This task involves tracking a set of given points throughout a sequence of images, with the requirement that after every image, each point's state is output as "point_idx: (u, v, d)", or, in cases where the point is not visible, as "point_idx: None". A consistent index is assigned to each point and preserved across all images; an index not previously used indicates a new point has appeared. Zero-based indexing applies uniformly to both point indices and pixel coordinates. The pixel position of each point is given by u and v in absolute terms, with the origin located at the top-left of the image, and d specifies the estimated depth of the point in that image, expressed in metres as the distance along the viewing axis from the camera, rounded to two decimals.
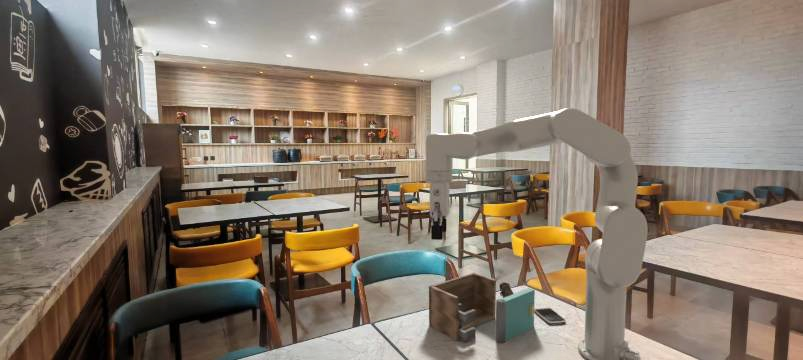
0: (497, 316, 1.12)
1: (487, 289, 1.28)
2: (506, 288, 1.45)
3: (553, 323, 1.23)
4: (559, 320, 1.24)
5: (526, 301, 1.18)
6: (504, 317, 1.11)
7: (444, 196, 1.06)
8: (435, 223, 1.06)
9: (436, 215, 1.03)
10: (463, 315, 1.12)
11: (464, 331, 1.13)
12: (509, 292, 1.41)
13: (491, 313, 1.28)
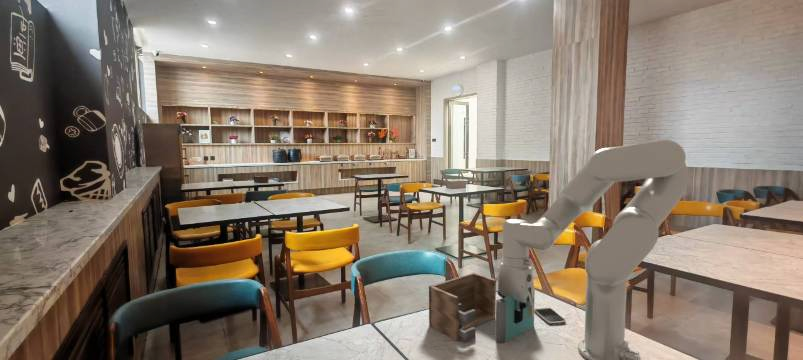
0: (497, 316, 1.12)
1: (487, 289, 1.28)
2: None
3: (553, 323, 1.23)
4: (559, 320, 1.24)
5: (526, 301, 1.18)
6: (504, 317, 1.11)
7: None
8: (523, 308, 1.14)
9: None
10: (463, 315, 1.12)
11: (464, 331, 1.13)
12: None
13: (491, 313, 1.28)
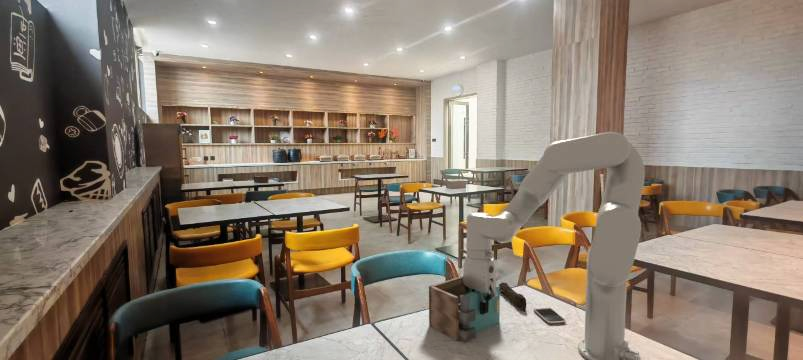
0: None
1: None
2: (507, 288, 1.45)
3: (553, 323, 1.23)
4: (559, 320, 1.24)
5: None
6: None
7: (495, 271, 1.16)
8: (488, 299, 1.16)
9: None
10: (463, 315, 1.12)
11: (464, 331, 1.13)
12: (513, 292, 1.41)
13: None
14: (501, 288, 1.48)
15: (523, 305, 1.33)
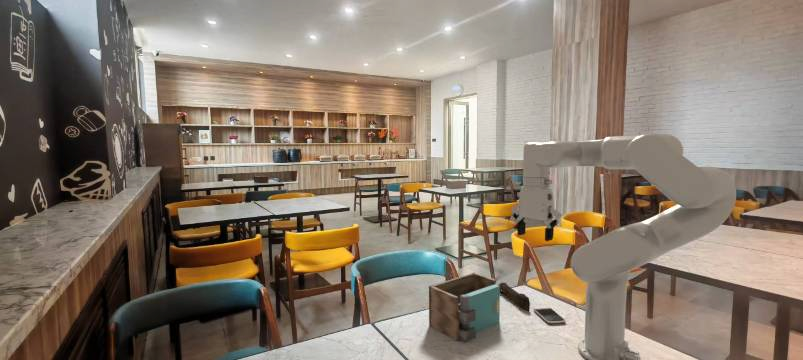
0: None
1: None
2: (508, 288, 1.45)
3: (552, 323, 1.23)
4: (559, 320, 1.24)
5: (490, 297, 1.22)
6: None
7: None
8: (554, 225, 1.14)
9: (560, 217, 1.13)
10: (463, 315, 1.12)
11: (464, 331, 1.13)
12: (514, 292, 1.41)
13: None
14: (501, 288, 1.48)
15: (527, 305, 1.33)
